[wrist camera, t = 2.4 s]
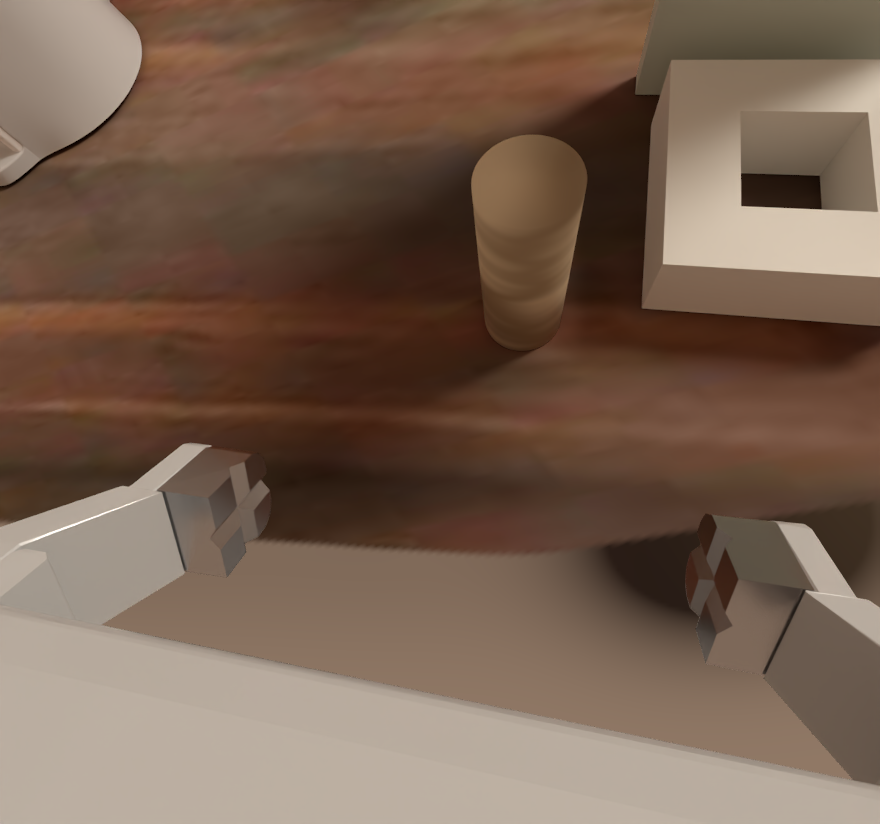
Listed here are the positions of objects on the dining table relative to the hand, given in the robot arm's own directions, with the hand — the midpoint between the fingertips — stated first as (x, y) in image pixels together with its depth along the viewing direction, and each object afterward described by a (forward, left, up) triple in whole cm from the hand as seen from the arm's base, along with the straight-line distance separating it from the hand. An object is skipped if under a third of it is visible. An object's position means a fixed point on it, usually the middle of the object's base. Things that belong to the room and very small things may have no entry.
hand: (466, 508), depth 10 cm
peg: (0, +12, -15) cm, 20 cm away
